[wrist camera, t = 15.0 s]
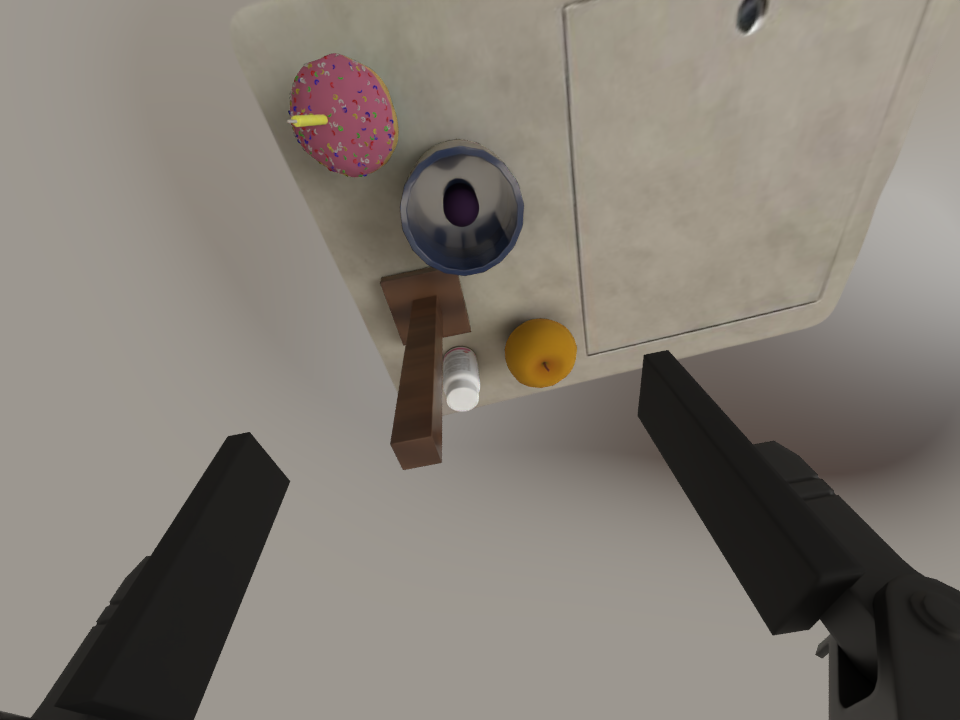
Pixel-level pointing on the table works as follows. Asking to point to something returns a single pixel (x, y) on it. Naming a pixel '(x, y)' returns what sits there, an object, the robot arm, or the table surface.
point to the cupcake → (343, 115)
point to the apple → (540, 352)
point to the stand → (422, 358)
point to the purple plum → (460, 205)
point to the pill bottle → (461, 379)
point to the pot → (495, 219)
